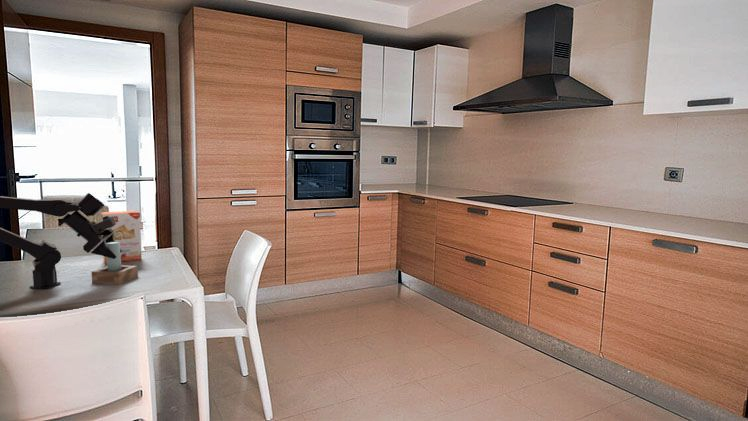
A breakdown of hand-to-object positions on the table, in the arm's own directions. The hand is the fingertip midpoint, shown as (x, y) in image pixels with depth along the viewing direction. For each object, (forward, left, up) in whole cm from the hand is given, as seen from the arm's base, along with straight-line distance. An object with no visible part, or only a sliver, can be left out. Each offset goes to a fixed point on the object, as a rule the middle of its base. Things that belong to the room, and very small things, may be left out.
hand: (118, 255), depth 169 cm
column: (-1, +1, -8) cm, 8 cm away
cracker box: (+25, +17, -9) cm, 32 cm away
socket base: (-1, +1, -9) cm, 9 cm away
